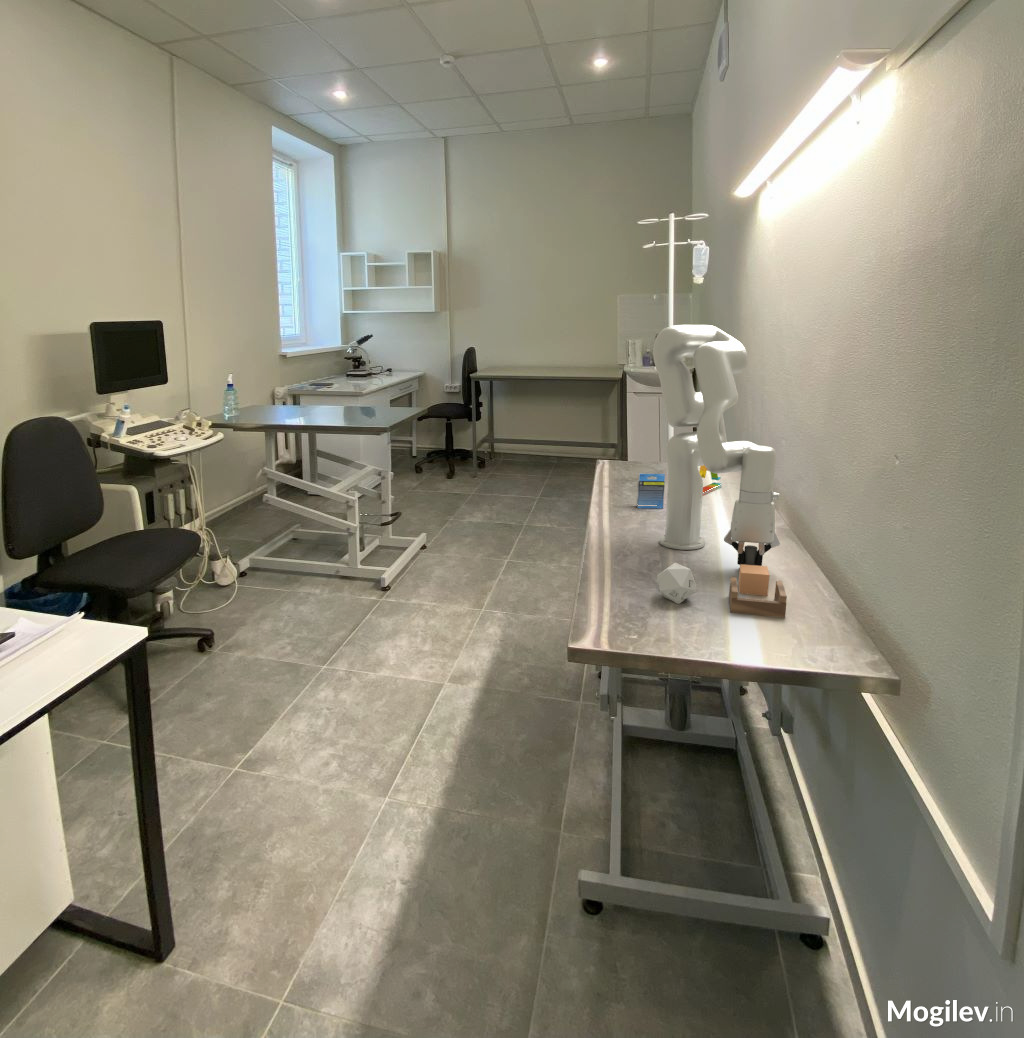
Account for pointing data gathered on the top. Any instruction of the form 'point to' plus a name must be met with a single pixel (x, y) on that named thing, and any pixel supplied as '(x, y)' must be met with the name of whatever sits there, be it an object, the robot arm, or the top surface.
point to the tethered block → (753, 574)
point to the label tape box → (651, 490)
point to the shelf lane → (758, 602)
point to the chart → (714, 477)
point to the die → (676, 583)
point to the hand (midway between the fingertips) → (749, 567)
